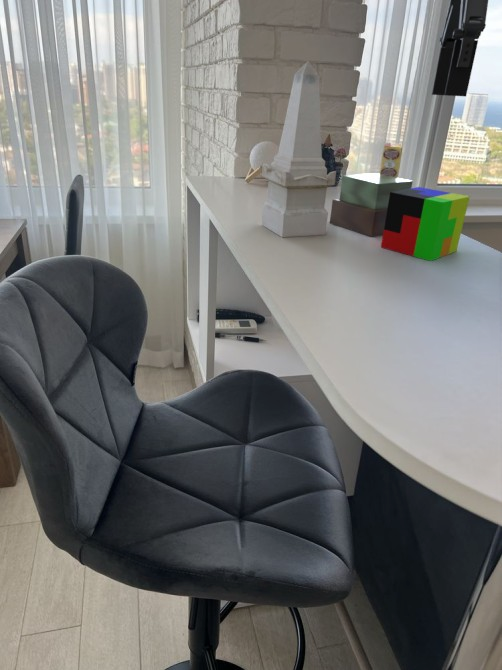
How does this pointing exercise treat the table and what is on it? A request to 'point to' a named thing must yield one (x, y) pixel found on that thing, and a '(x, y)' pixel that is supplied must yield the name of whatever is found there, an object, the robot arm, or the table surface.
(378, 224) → the block stack
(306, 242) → the table surface
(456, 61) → the robot arm
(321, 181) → the miniature monument
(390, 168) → the candy box
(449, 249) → the puzzle toy
